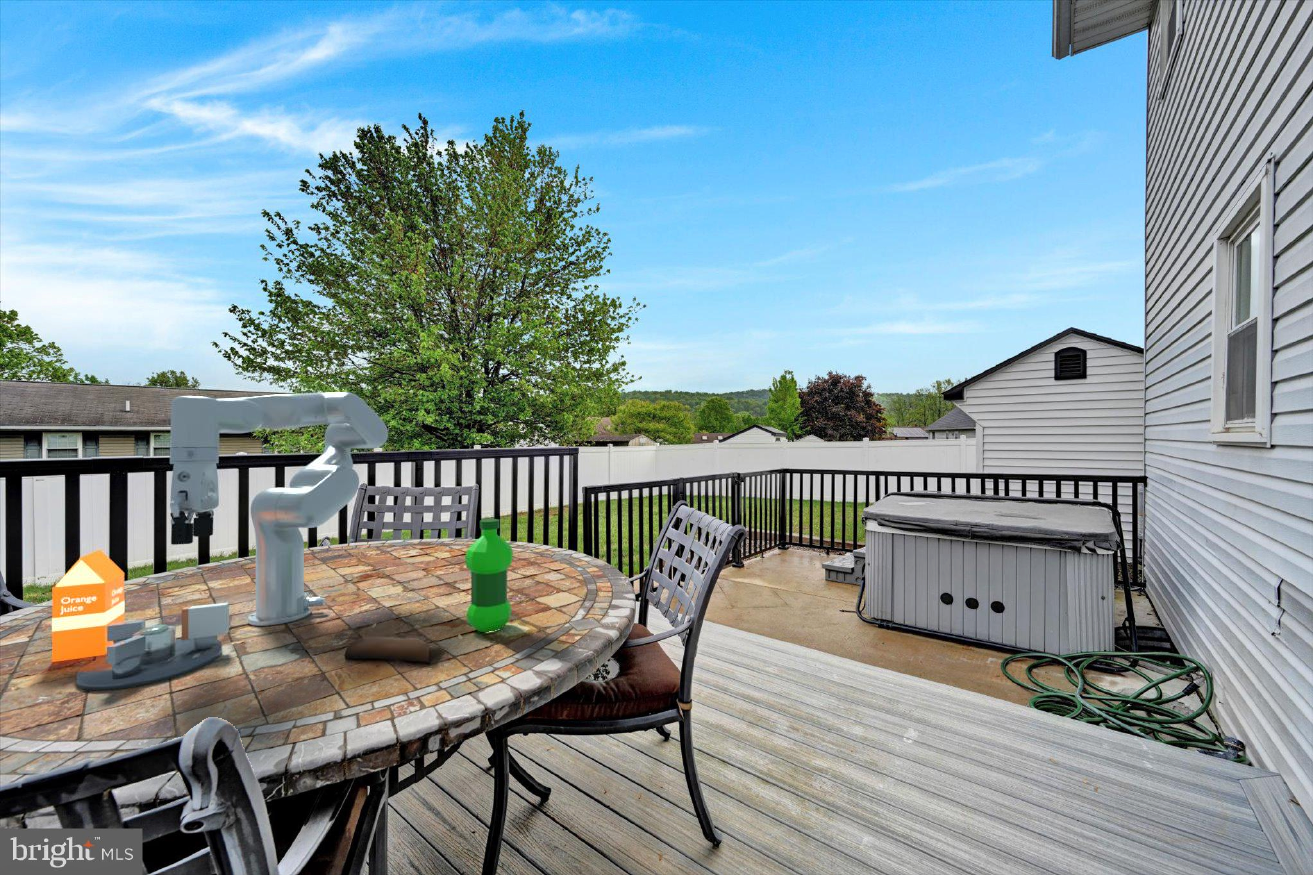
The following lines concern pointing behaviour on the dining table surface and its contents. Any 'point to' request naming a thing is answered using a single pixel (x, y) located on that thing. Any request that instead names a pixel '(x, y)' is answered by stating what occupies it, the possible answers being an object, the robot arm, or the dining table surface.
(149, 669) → the tribrach base
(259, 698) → the dining table surface
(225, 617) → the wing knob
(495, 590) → the plastic bottle
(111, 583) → the orange juice
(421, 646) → the sunglasses case
